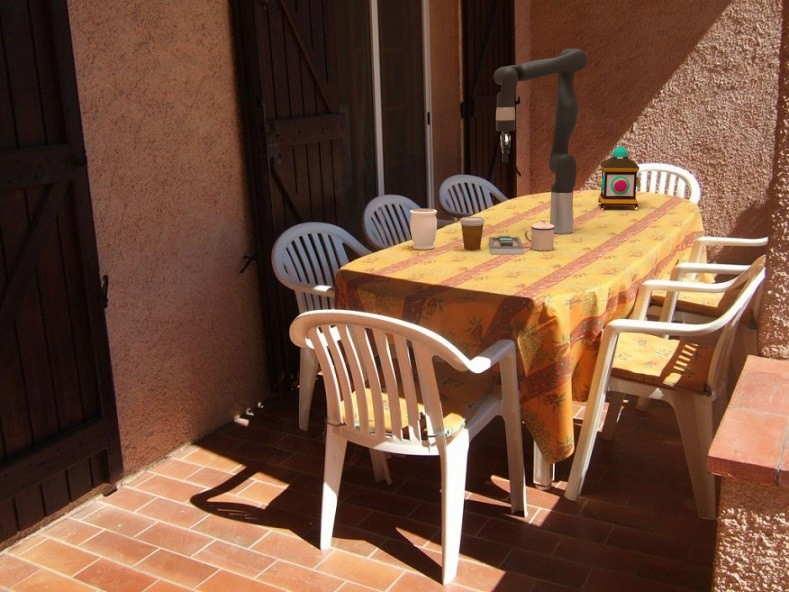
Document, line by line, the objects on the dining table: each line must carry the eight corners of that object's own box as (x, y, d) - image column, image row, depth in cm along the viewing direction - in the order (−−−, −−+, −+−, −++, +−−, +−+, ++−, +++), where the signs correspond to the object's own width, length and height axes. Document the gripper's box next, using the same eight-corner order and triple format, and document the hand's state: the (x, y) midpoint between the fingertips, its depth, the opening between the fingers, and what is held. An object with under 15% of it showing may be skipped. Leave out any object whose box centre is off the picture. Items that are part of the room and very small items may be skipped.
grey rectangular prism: (510, 239, 349) (510, 235, 348) (510, 241, 346) (510, 237, 345) (498, 239, 349) (498, 235, 349) (499, 241, 346) (499, 237, 346)
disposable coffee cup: (484, 246, 349) (484, 216, 346) (484, 251, 340) (484, 220, 337) (460, 246, 350) (460, 216, 347) (459, 251, 341) (459, 220, 338)
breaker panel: (518, 244, 352) (519, 236, 351) (523, 254, 334) (523, 246, 333) (488, 244, 352) (488, 237, 351) (491, 254, 335) (491, 246, 334)
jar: (418, 251, 341) (418, 213, 337) (405, 247, 350) (405, 209, 346) (441, 248, 346) (441, 211, 342) (428, 244, 354) (428, 207, 350)
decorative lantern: (595, 204, 443) (597, 144, 435) (635, 204, 440) (639, 144, 432) (598, 211, 424) (601, 148, 416) (640, 211, 421) (644, 148, 413)
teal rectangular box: (511, 242, 344) (511, 238, 344) (511, 243, 341) (511, 239, 341) (499, 242, 344) (499, 238, 344) (500, 244, 341) (500, 239, 341)
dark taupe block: (512, 244, 339) (512, 240, 339) (512, 246, 336) (512, 242, 336) (500, 244, 339) (500, 240, 339) (501, 246, 336) (501, 242, 336)
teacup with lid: (557, 247, 344) (558, 218, 341) (549, 252, 337) (550, 222, 334) (528, 244, 350) (529, 216, 347) (519, 249, 343) (520, 219, 340)
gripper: (516, 119, 345) (516, 163, 350) (513, 117, 358) (512, 159, 363) (497, 120, 346) (497, 164, 350) (494, 117, 358) (494, 160, 363)
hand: (505, 162), depth 356 cm, fingers closed
